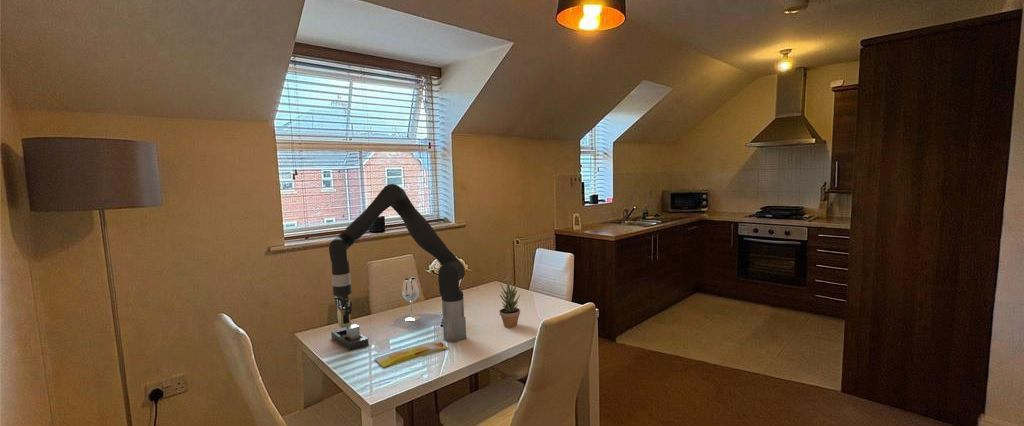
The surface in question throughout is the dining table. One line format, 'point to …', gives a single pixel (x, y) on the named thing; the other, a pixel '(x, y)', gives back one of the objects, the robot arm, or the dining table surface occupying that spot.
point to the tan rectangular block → (340, 318)
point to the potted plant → (509, 306)
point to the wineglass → (410, 295)
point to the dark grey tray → (352, 345)
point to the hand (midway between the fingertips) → (344, 321)
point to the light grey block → (353, 332)
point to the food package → (410, 353)
